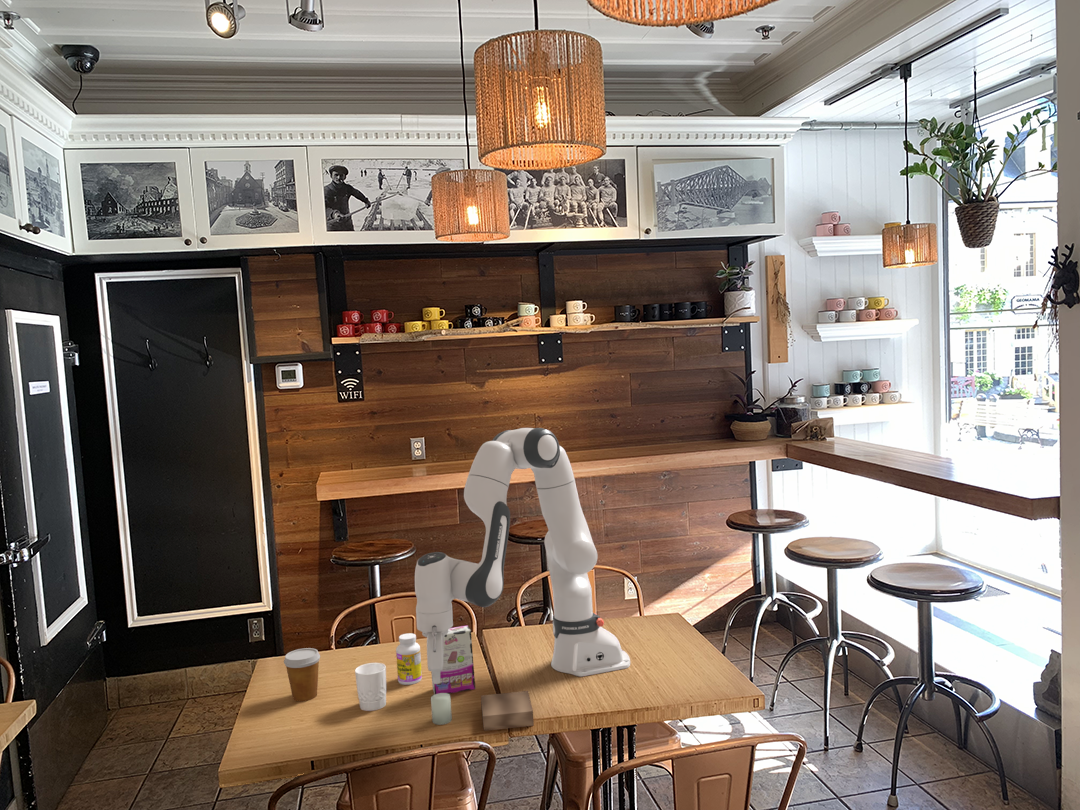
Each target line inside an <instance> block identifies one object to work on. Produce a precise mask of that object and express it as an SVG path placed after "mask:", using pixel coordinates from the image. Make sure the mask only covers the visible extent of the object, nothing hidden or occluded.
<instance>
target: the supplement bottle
mask: <svg viewBox="0 0 1080 810" xmlns="http://www.w3.org/2000/svg"><path fill="white" fill-rule="evenodd" d="M416 641H417V635H416V634H415V633H412V632H411V633H410V632H409V633H402V634H400V635H399V636H398V642H399V644H398V645H397V646H396V648H395V651H396V652H395V655H396V669H397V682H398V683H399V684H400V685H405V686H409V685H414V684H419V682H421V681H422V679H423V675H422V673H423V672H422V659H421V658H422V655H421V646H420V644H419V643H418V642H416Z"/></svg>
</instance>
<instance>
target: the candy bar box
mask: <svg viewBox="0 0 1080 810" xmlns="http://www.w3.org/2000/svg"><path fill="white" fill-rule="evenodd" d="M472 642H473V639H472V629H470V627H469V625H461V626H456V627H451V628H450V629H448V633H447V634H446V635H445V637H444V660H443V670H441V672H440V681H441V682H440V683H439V684H434V683H433V676H432V671H430V672H431V683H432V684H431V686H432V690H433V695H435V694H438V693H447V694H449V695H451V694H455V693H460V692H465V691H466V692H467V691H471V690H475V689H476V682H475V681H476V680H475V679H476V678H475V677H476V676H475V667H474V653H473V643H472Z"/></svg>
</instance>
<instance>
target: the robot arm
mask: <svg viewBox="0 0 1080 810" xmlns="http://www.w3.org/2000/svg"><path fill="white" fill-rule="evenodd" d="M559 443H560V442H559V440H558V439H557V436H556V435H555V434H554V433H553V432H552V431H551V430H549V429H546V428H542V427H535V428H533V427H520V428H517V429H508V430H507V429H506V430H504V431H502V432H501V431H500V432H499V433H497V434H496V435H495V436H494V437H493V438H492V440H489V441H485V442H483V443H482V445H481V446H480V447H479V449H478V451H477V452H476V454H475V457H474V459H473V462H472V464H471V467H470V469H469V472H468V475H467V478H466V481H465V486H464V489H463V499H464V502H465V504H466V506H467V507H468V509H469V510H470V511H471V512H472V513H473V514H475V515H476V516H477V517H479V519H481V520H482V521H483V524H484V526H485V535H484V542H483V548H482V555H481V560H480V561H479V562H478V563H476V562H471V561H467V560H463V559H457V558H453V557H450V556H448V555H447V554H446V553H444V552H442V551H440V552H439V551H434V552H429V553H426V554H423V555H421V557H419V558H418V559H417V561H416V565H415V568H414V570H415V571H414V593H415V596H416V606H415V613H416V614H415V616H416V617H415V618H416V629H417V630H418V631H419V632H422V633H421V634H422V636H423V637H425V638H426V656H427V657H426V659H427V660H426V661H427V664H426V665H427V669H428V672H431V671H432V674H431V677H432V676H433V683H434V684H439V683H440V682H441V681H440V672H441V670H443V660H444V637H445V635H446V634H447V633H448V629H450V628H453V626H454V621H453V619H454V617H453V616H454V615H453V604H452V602H453V600H455V599H456V600H458V601H463V602H465V603H466V602H467V603H471V604H472V605H475V606H477V607H480V608H486V607H487V608H488V607H490V606H492V605H493V604H495V603H496V602H497V601H498V600H499V599H500V597H501V596H502V594H503V591H504V585H505V583H504V581H505V580H504V579H505V577H504V573H505V572H504V570H505V569H504V567H505V560H506V554H507V549H508V548H507V547H508V540H509V534H510V527H511V526H510V525H511V511H510V508H509V506H508V503H507V496H508V490H509V486H510V484H511V483H510V482H511V479H512V474H513V472H514V471H515V470H516V469H518V470H526V469H530V470H531V471H532V473H533V475H534V484H535V488H536V493H537V496H538V497H537V498H538V501H539V505H540V506H539V507H540V510H541V514H542V517H543V519H544V522H545V524H546V527H547V529H548V531H547V533H545V537H544V541H543V542H544V547H545V552H546V553H545V554H546V559H547V564H548V572H549V576H550V580H551V581H550V582H551V589H552V597H553V598H552V599H553V600H552V601H553V616H552V633H553V636H554V640H553V641H554V642H553V643H554V644H553V655H552V659H551V663H550V666H551V668H552V669H554V670H555V671H557V672H561V673H565V674H570V675H573V676H575V677H586V676H592V675H596V674H602V673H608V672H613V671H618V670H619V671H620V670H624V669H625V670H626V669H628V668H629V667H630V666H631V657H630V656H629V654H628V653H627V652H626V651H625V650H623V649H622V647H621V644H620V641H619V639H618V638H617V636H616V635H615V634H613V633H611V631H609V630H607V629H605V628H604V627H603V626H604V625H605V622H604V620H603V618H601V616H600V615H599V614H597V613H596V612H593V595H592V593H593V592H592V590H593V589H592V586H591V582H590V579H589V575H588V573H589V572H591V571H592V570H593V569H594V568H595V566H596V564H597V563H598V551H597V548H596V546H595V543H594V540H593V538H592V534H591V532H590V529H589V525H588V522H587V519H586V517H585V515H584V512H583V509H582V506H581V502H580V497H579V494H578V492H579V491H578V489H577V485H576V478H575V475H574V471H573V467H572V465H571V462H570V459H569V457H568V454H567V452H566V450H565V449H564V447H562V446H561V445H560V444H559Z"/></svg>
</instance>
